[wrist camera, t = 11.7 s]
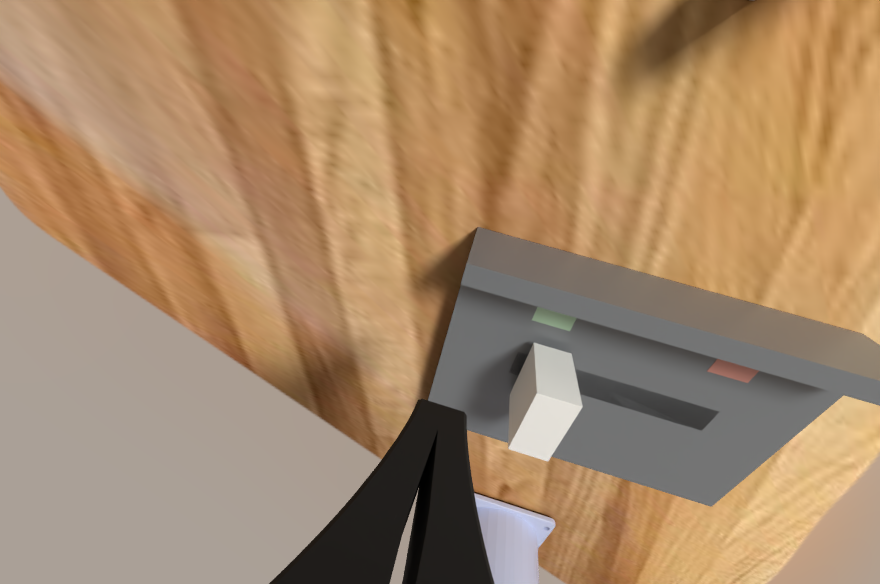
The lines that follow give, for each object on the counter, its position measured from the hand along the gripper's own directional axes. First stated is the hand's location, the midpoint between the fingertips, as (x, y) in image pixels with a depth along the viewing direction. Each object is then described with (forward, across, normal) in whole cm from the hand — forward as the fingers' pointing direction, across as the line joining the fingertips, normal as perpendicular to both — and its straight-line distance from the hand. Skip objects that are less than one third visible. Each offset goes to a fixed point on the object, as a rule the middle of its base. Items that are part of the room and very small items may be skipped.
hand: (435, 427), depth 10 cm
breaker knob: (+8, -5, +4) cm, 11 cm away
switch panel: (+10, -9, +4) cm, 14 cm away
